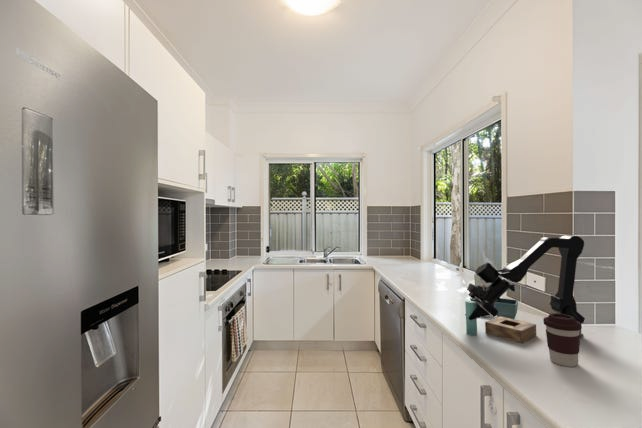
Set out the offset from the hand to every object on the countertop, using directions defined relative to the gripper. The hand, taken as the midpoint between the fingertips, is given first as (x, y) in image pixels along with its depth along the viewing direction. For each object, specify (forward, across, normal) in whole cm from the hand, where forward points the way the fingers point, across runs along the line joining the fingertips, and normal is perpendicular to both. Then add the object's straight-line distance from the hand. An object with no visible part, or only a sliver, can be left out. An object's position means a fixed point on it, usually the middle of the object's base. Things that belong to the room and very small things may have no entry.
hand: (467, 317), depth 130 cm
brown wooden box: (-7, 0, +16) cm, 18 cm away
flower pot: (-11, -18, +20) cm, 29 cm away
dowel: (+4, 0, +6) cm, 7 cm away
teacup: (-6, -27, +16) cm, 32 cm away
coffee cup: (-11, +24, +21) cm, 34 cm away
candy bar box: (-11, -42, +20) cm, 48 cm away
